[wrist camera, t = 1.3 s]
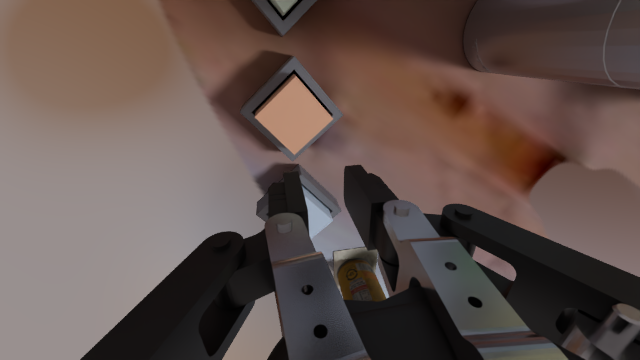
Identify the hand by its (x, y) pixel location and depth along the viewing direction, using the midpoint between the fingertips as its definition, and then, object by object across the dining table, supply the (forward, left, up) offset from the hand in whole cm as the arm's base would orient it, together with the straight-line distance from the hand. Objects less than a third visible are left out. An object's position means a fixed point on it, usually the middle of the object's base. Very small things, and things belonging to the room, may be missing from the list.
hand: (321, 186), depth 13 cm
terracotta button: (0, 0, -17) cm, 17 cm away
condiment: (+10, +26, -19) cm, 34 cm away
